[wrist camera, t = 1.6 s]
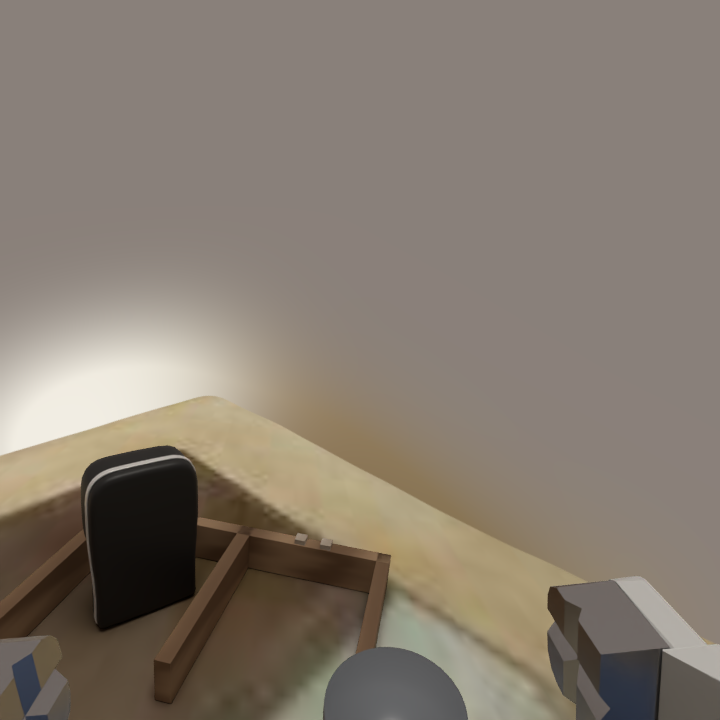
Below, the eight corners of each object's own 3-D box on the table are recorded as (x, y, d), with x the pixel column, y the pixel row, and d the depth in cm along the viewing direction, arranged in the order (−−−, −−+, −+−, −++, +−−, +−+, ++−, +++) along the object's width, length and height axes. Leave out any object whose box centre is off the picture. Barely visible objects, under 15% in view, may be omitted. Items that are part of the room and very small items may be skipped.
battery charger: (181, 564, 42) (181, 433, 38) (200, 595, 39) (201, 456, 35) (83, 598, 37) (72, 454, 34) (95, 635, 35) (85, 482, 31)
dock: (-13, 657, 32) (-20, 613, 31) (116, 531, 44) (114, 496, 43) (356, 750, 29) (363, 704, 28) (386, 587, 41) (391, 550, 40)
